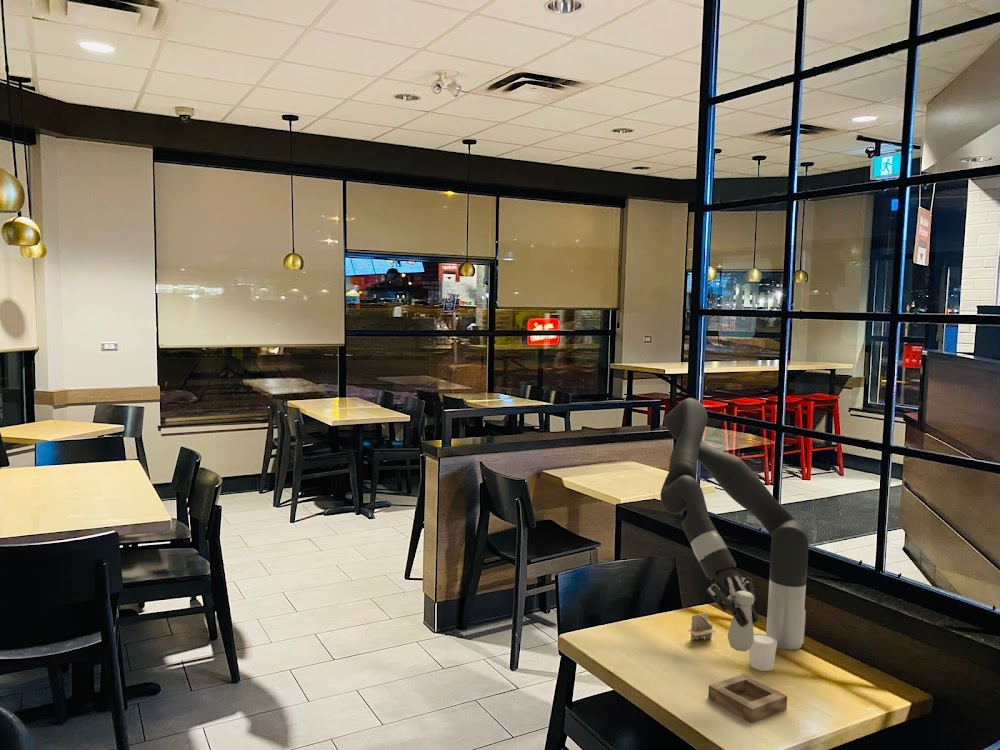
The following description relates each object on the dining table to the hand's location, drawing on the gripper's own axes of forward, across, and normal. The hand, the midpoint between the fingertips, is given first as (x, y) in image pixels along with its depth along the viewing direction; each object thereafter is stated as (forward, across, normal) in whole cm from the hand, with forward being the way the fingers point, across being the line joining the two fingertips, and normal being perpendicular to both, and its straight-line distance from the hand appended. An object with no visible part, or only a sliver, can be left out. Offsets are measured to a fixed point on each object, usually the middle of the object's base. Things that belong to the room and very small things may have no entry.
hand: (750, 623), depth 168 cm
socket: (+14, 0, -12) cm, 18 cm away
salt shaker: (+3, 0, -6) cm, 7 cm away
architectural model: (-6, -17, -34) cm, 38 cm away
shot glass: (+6, -19, -21) cm, 29 cm away
